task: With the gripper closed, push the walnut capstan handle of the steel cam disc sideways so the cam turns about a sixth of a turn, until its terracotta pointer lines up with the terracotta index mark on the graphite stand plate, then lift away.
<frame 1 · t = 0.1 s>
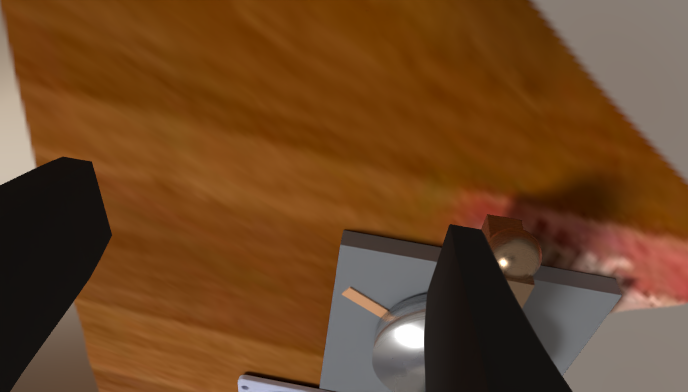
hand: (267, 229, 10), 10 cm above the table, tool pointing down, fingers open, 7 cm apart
cam: (467, 336, 22), point 3 cm above the table, hinge at 0.0°
stand plate: (445, 334, 27), on the table
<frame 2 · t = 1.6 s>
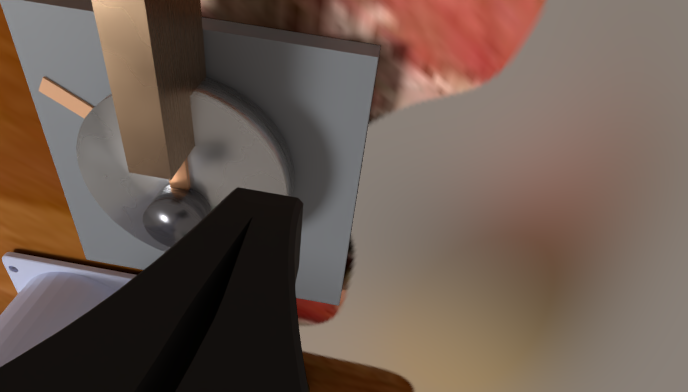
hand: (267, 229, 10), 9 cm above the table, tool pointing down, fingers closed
cam: (168, 118, 16), point 3 cm above the table, hinge at 0.0°
stand plate: (209, 166, 21), on the table
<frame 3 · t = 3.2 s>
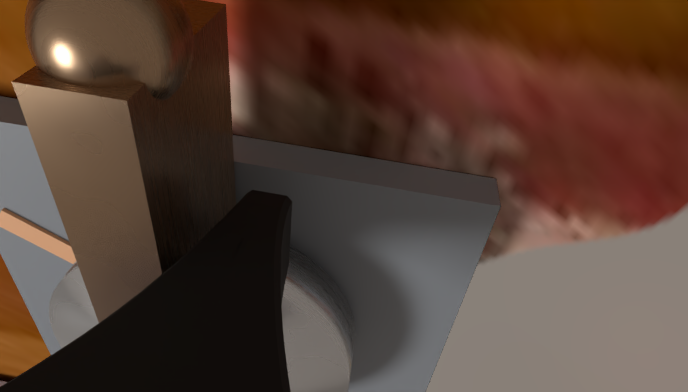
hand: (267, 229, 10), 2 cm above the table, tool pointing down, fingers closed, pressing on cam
cam: (182, 296, 11), point 3 cm above the table, hinge at 0.0°, touching gripper
stand plate: (233, 304, 16), on the table
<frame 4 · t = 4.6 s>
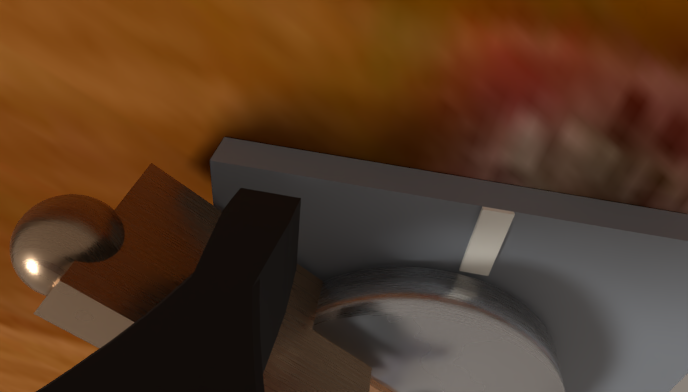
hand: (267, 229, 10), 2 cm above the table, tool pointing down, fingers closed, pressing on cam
cam: (318, 365, 12), point 3 cm above the table, hinge at 54.8°, touching gripper
stand plate: (433, 342, 16), on the table
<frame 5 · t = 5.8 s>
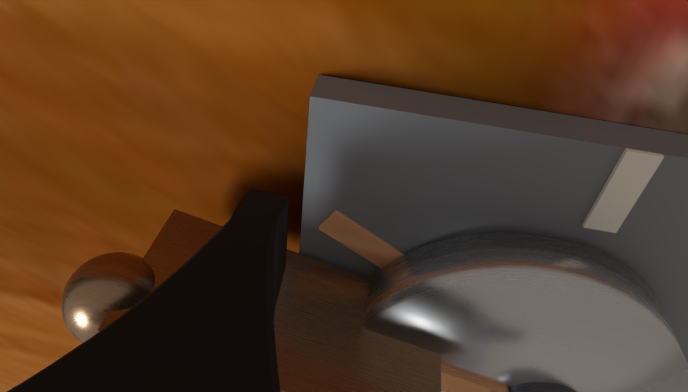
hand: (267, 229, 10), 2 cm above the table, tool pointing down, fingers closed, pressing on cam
cam: (384, 364, 11), point 3 cm above the table, hinge at 76.3°, touching gripper
stand plate: (522, 316, 14), on the table
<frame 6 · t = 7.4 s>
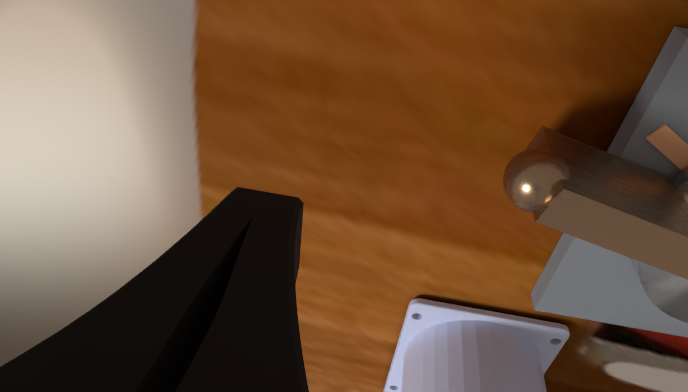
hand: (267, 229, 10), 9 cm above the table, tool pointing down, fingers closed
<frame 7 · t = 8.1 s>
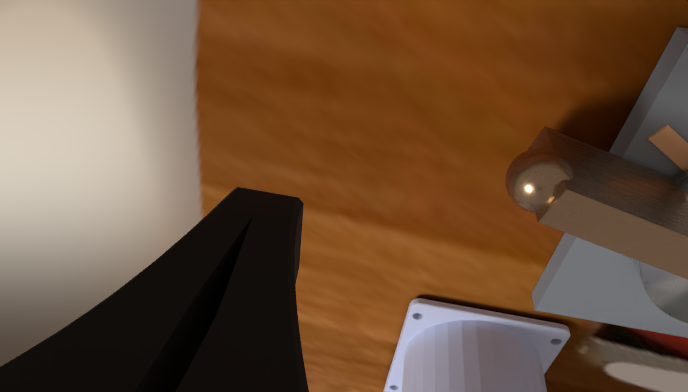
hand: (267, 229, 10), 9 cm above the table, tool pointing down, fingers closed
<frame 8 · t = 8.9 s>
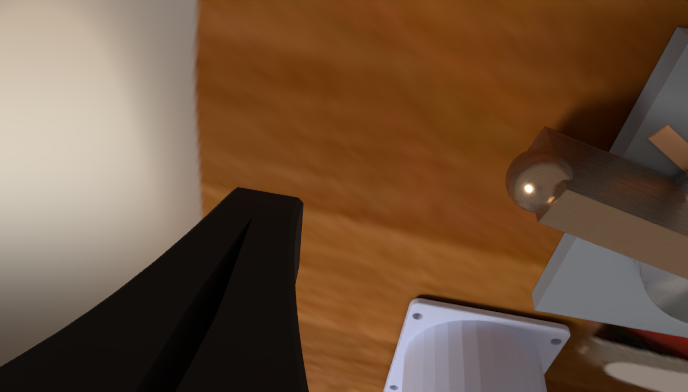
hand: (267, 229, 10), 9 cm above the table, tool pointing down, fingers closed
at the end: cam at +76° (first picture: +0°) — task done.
